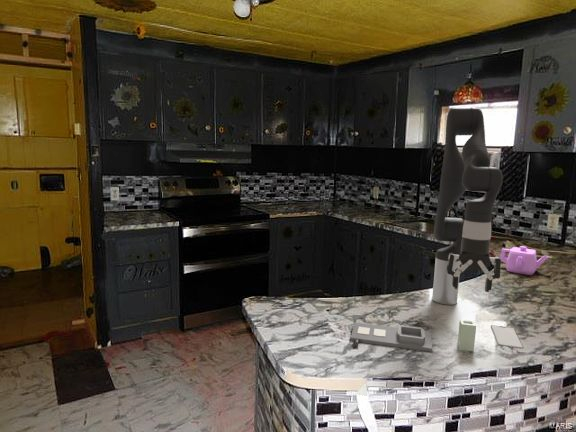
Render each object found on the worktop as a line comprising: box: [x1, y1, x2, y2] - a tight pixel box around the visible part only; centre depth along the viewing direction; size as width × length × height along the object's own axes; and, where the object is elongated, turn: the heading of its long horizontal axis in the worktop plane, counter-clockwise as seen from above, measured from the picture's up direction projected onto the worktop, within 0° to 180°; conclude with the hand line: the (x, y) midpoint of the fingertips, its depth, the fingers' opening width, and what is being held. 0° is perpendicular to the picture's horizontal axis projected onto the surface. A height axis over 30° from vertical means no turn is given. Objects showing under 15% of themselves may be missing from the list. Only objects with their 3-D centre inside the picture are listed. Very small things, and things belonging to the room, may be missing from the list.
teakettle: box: [499, 245, 549, 276], centre depth 210 cm, size 17×17×12 cm
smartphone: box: [490, 324, 525, 349], centre depth 135 cm, size 7×1×15 cm
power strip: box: [350, 322, 433, 353], centre depth 130 cm, size 16×24×3 cm, turn 76°
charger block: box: [457, 318, 477, 352], centre depth 127 cm, size 4×4×8 cm
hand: (471, 289), depth 124 cm, fingers open, 8 cm apart
